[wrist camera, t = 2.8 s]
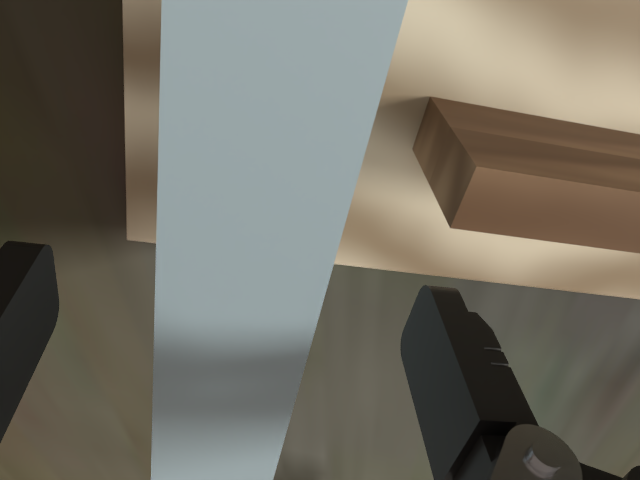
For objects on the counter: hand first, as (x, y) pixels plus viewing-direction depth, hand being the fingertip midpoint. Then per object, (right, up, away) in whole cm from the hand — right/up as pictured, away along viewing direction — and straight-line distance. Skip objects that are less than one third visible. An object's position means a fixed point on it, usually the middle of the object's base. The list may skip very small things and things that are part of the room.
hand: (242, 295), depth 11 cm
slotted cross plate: (-1, +7, +9) cm, 11 cm away
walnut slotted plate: (+16, +5, +12) cm, 20 cm away
